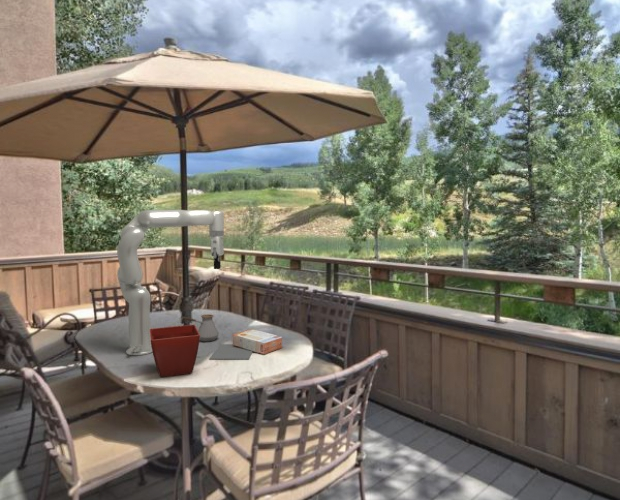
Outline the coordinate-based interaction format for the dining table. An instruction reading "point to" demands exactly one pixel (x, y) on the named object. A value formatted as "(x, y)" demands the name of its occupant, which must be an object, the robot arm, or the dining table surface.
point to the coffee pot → (206, 328)
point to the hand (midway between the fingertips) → (217, 268)
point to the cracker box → (257, 341)
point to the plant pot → (175, 349)
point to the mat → (230, 353)
